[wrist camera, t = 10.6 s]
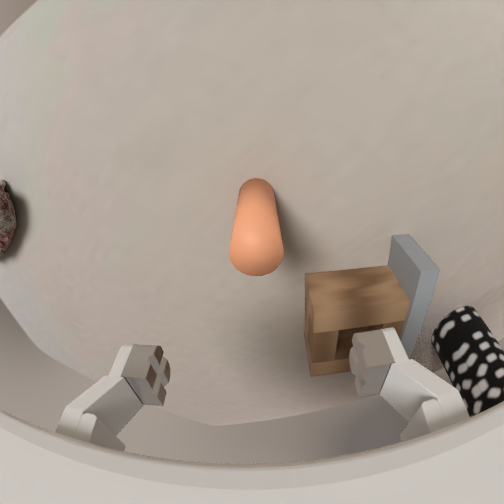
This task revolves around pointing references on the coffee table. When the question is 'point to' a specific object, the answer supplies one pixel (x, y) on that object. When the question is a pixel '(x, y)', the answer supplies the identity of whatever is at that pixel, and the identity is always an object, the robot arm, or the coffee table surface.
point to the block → (348, 313)
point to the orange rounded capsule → (256, 230)
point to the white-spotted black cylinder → (471, 359)
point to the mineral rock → (6, 219)
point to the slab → (413, 284)
